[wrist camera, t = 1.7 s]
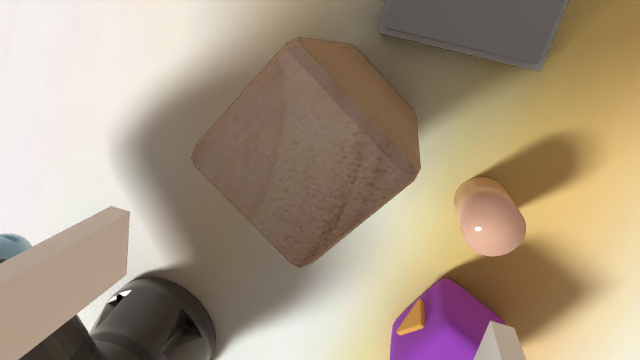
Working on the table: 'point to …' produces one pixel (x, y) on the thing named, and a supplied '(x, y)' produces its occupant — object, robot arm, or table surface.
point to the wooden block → (312, 147)
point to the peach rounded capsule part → (488, 217)
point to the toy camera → (441, 325)
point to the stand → (479, 27)
